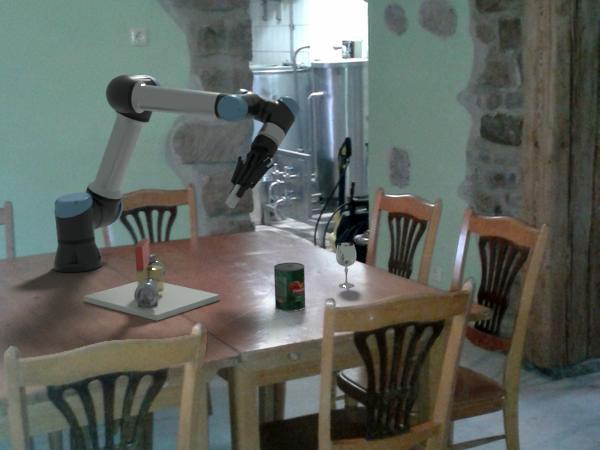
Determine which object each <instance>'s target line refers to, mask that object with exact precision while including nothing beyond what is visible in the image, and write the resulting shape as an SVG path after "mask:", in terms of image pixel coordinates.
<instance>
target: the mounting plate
mask: <svg viewBox="0 0 600 450" xmlns="http://www.w3.org/2000/svg"><path fill="white" fill-rule="evenodd" d="M136 288H137V281H134V282H131V283H128V284H127V283H126V284H123V285H119V286H115V287H112V288H108V289H105V290H102V291H98V292H94V293H90V294H87V295H84V296H83V301H84V302H85V303H89V304H93V305H96V306H100V307H104V308H108V309H112V310H114V311H119V312H121V313H122V312H123V313H127V314H130V315H135V316H138V317H141V318H144V319H148V320H149V319H150V320H152V321H153V320H154V321H157V322H158V321H160V320H161V321H162V320H164V319H166V318H170V317H172V316H175V315H178V314H182V313H185V312H188V311H191V310H193V309H196V308H201V307H202V306H206V305H208V304H212V303H215V302H218V301H220V294H217V293H213V292H209V291H204V290H200V289H196V288H190V287H186V286H185V287H184V286H182V285H176V284H174V283H173V284H172V283H167V282H164V290H163V291H161V292H158V302H159V303H158V306H149V307H138V303H137V302H136V300H135V298H134V293H135V290H136Z"/></svg>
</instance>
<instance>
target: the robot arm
mask: <svg viewBox="0 0 600 450" xmlns="http://www.w3.org/2000/svg"><path fill="white" fill-rule="evenodd" d="M105 98H106V102H107V103H108V105H109V106H110V107H111V109H113V110H114V112H115V114H116V117H115V121H114V124H113V126H112V130H111V132H110V135H109V138H108V141H107V143H106V147H105V149H104V153H103V155H102V159H101V162H100V164H99V167H98V170H97V173H96V176H95V179H94V180H93V181H91V182H89V183H88V184H87V187H86V189H85V192H80V191H79V192H72V193H67V194H63V195H61V196H59V197H58V198H56V199H55V201H54V210H53V212H54V217H55V228H56V229H55V230H56V239H57V246H56V247H57V248H56V251H55V255H54V259H53V270H54V271H55V272H60V273H82V272H89V271H92V270H96V269H100V268H101V267H102V266H103V257H102V255H101V253H100V251H99V250H100V249H98V248H99V247H98V245H97V244H96V237H95V236H96V233H95V230H98V229H101V228H104V227H108V226H110V225H112V224H113V223H115V222H117V221H118V220H119V219H120V217H121V216H122V214H123V212H124V211H123V210H124V204H123V199H122V197H123V193H122V191H121V187H122V183H123V181H124V178H125V175H126V173H127V169H128V168H129V164H130V161H131V160H132V156H133V153H134V150H135V147H136V145H137V142H138V140H139V136H140V133H141V131H142V128H143V126H144V125H145V124H148V123H149V122H150V119H151V117H152V114H153V112H156V113H157V112H158V113H165V114H173V115H175V114H176V115H183V116H192V117H201V118H209V119H210V118H211V119H218V120H224V121H226V122H230V123H237V122H240V121H244V120H245V121H246V120H249V119H251V120H254V121H257V122H259V123H261V124H262V126H261V127H260V129H259V130H258V132H257V135H256V136H255V137H254V139H253V140H252V142H251V144H250V150H249V151H248V153H246V155H245V156H238V158H237V164H236V167H235V169H234V170H233V171H234V172H233V175H232V178H231V179H230V182H231V183H232V184H233V187H232V189H231V191H230V192H229V195H228V197H227V199H226V201H225V202H224V203H225V204H226V205H227V207H229V208H230V209H235V207H236V206H237V204H238V203H239V201H240V199H242V198H243V196H244V194H245V192H246V191H248V190H249V189H250V190H252V189H254V188H255V187H256V185H258V183H259V182H260V181H261V179H262V178H263V177H264V176H265V175H266V174H267V172H268V171H269V170H270V169H272V168H273V167H274V166H275V164H274V162H273V161H272V159H273V158H274V157H275V155H276V153H277V151H278V150H279V147H280V146H281V144H282V143H283V141H284V139H285V138H286V136H287V134H288V132H289V131H290V129H291V127H292V126H293V124H294V123H295V122H296V119H297V117H298V115H299V113H300V105H299V103H298V102H297V101H296V100H295V99H294V98H292V97H290V96H287V95H285V96H284V95H281V96H280V97H279V98H278V99H277V100H275V99H271V98H268V97H266V96H264V95H260V94H258V93H256V92H253V91H252V90H247V89H244V88H240V89H238V90H237V91H236V92H235V93H234V94H233V93H225V92H224V93H223V92H216V91H214V92H213V91H206V90H197V89H196V90H195V89H187V88H179V87H177V88H176V87H167V86H161V84H160V82H159V81H158V80H157V79H156V78H155V77H153V76H151V75H149V74H148V75H147V74H142V73H140V74H121V75H118V76H115V77H114V78H112V79H111V80H110V81H109V83H108V84H107V86H106V89H105Z"/></svg>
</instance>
